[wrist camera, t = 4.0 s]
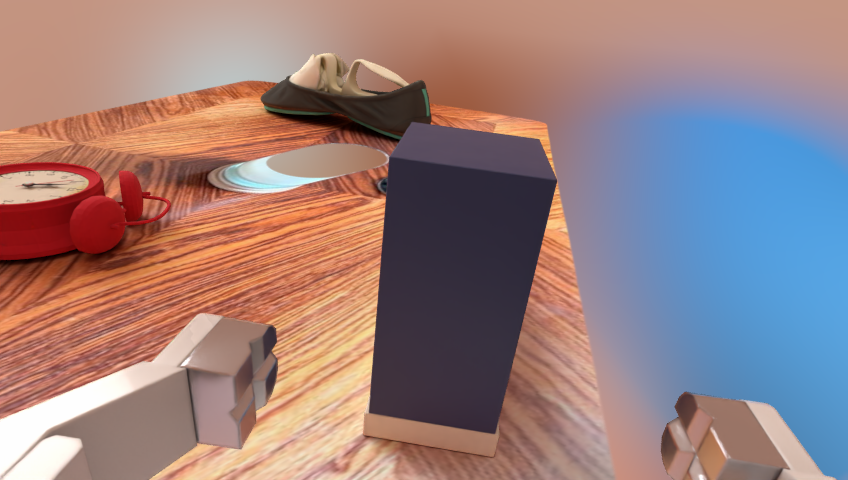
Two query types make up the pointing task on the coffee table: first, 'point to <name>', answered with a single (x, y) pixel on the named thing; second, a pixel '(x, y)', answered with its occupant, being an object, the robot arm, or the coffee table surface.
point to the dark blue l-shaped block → (454, 283)
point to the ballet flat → (350, 96)
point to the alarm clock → (64, 210)
